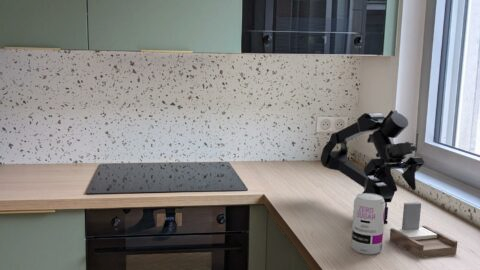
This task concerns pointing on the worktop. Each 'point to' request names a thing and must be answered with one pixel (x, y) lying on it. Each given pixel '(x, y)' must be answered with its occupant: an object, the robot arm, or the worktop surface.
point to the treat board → (425, 244)
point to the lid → (414, 223)
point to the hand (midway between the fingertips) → (405, 190)
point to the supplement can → (368, 223)
